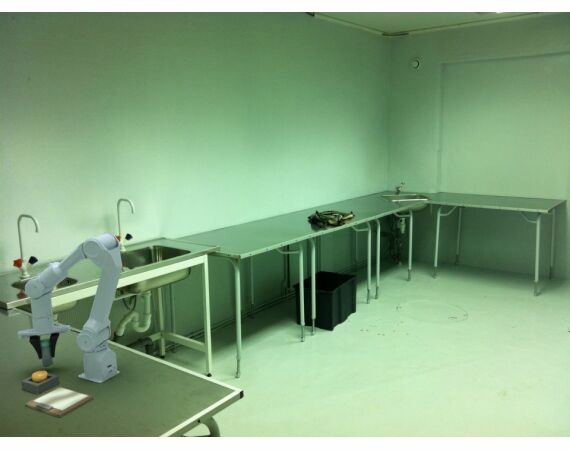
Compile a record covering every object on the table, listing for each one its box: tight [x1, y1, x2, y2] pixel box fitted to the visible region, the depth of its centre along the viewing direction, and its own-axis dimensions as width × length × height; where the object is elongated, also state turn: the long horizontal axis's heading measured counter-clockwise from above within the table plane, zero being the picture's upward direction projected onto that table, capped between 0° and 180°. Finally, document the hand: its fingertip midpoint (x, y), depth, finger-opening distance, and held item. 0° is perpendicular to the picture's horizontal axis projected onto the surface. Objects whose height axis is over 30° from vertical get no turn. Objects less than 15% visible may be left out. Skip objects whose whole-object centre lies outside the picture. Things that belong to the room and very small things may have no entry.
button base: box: [20, 372, 60, 395], centre depth 152 cm, size 7×7×2 cm
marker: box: [40, 337, 54, 368], centre depth 162 cm, size 3×3×8 cm
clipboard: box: [24, 386, 94, 418], centre depth 143 cm, size 14×11×1 cm
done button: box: [31, 370, 48, 383], centre depth 152 cm, size 4×4×2 cm
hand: (47, 357), depth 162 cm, fingers closed on marker, 3 cm apart
